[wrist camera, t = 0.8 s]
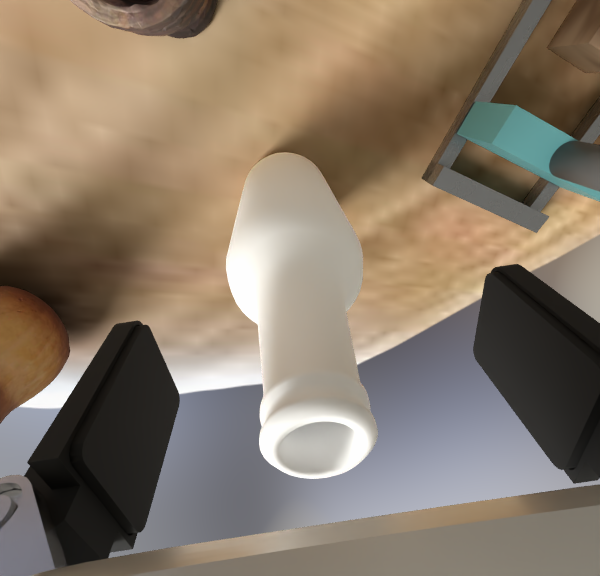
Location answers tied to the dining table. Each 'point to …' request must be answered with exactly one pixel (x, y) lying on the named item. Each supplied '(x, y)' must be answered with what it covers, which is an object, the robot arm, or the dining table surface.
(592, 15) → the walnut block
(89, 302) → the dining table surface
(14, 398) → the butternut squash
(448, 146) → the vise bed
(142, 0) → the brown bust statue
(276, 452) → the alcohol
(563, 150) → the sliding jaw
